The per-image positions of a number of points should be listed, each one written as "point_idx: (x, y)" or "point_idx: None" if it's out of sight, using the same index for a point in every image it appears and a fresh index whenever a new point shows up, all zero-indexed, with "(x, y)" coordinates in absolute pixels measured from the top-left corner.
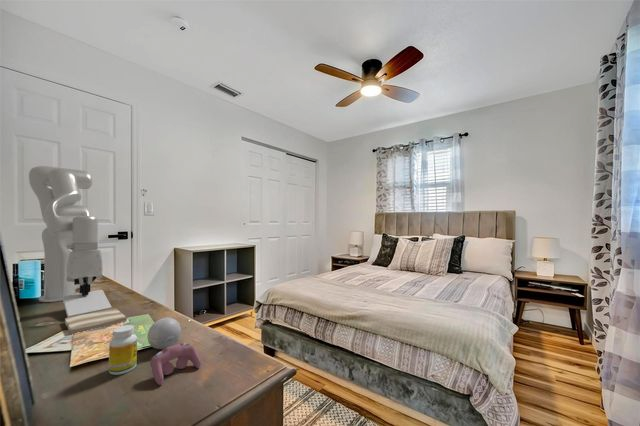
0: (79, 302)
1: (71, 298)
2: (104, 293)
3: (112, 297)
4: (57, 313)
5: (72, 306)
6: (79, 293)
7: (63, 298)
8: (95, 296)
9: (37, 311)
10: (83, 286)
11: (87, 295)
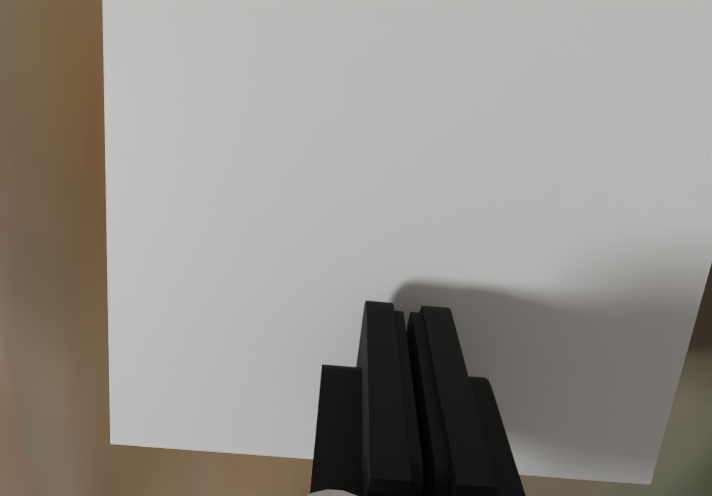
0: (544, 120)
1: (590, 338)
2: (107, 278)
3: (64, 437)
4: None
5: (686, 11)
6: None
7: (672, 397)
8: (264, 231)
9: (684, 470)
10: (485, 455)
11: None
